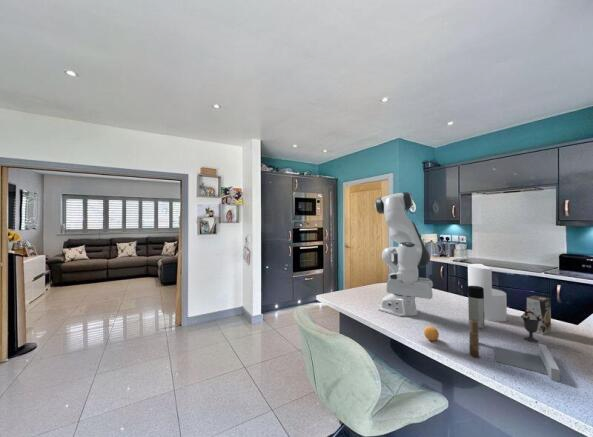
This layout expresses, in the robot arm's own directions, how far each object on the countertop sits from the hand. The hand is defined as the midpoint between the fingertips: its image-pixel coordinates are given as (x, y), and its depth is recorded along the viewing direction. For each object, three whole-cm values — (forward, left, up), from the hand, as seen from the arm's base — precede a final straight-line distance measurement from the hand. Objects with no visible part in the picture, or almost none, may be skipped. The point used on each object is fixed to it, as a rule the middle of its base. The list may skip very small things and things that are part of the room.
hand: (408, 305), depth 119 cm
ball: (+9, 0, -11) cm, 15 cm away
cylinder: (+31, +50, -15) cm, 61 cm away
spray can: (+26, +30, -15) cm, 43 cm away
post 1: (+25, +9, -14) cm, 30 cm away
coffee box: (+51, +40, -15) cm, 67 cm away
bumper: (+48, +2, -14) cm, 50 cm away
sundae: (+46, +25, -15) cm, 55 cm away
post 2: (+25, -5, -14) cm, 29 cm away
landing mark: (+39, +2, -14) cm, 42 cm away
